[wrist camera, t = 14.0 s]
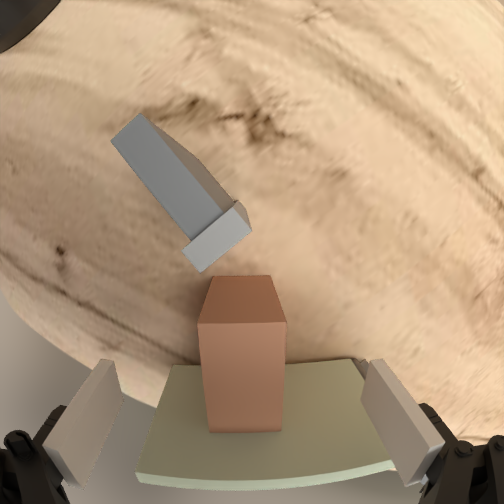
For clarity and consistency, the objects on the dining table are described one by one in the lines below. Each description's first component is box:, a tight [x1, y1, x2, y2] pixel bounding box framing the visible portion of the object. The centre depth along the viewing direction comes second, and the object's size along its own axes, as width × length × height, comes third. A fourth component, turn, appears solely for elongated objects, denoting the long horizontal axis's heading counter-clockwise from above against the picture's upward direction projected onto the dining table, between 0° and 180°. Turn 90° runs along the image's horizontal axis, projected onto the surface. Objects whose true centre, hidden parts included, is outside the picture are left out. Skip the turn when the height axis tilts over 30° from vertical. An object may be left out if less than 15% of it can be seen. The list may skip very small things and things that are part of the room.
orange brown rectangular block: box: [197, 275, 287, 433], centre depth 18 cm, size 7×4×8 cm, turn 1°
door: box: [135, 359, 395, 490], centre depth 17 cm, size 15×2×11 cm, turn 91°
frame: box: [111, 113, 428, 485], centre depth 15 cm, size 26×2×12 cm, turn 39°
